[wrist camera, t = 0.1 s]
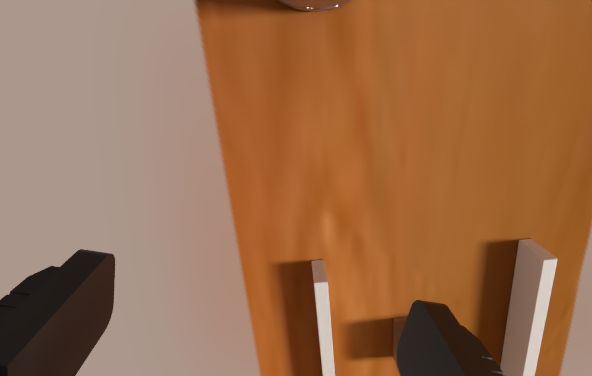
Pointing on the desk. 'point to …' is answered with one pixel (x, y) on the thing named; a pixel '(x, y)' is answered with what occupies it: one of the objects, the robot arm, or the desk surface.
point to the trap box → (520, 323)
